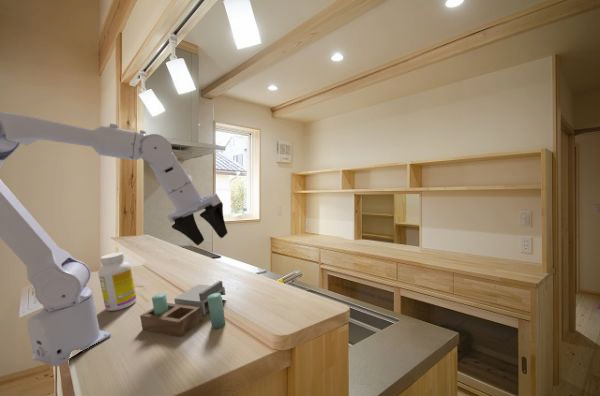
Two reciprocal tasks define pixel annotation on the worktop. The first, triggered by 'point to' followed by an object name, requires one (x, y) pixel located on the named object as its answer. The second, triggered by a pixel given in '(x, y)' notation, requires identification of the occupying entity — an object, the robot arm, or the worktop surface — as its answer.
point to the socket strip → (172, 320)
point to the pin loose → (216, 310)
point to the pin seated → (160, 304)
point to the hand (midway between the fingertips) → (212, 239)
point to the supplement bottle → (116, 282)
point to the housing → (199, 295)
